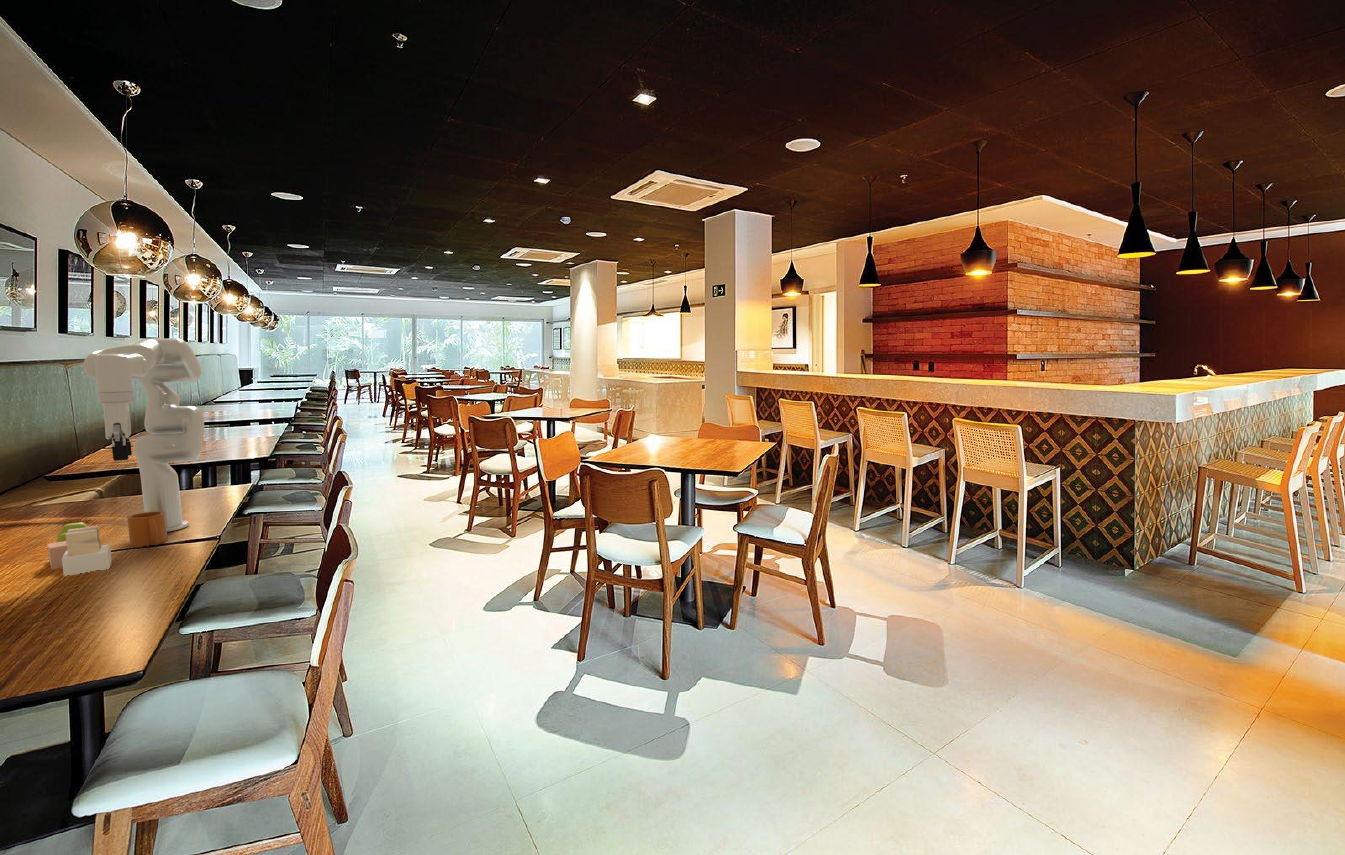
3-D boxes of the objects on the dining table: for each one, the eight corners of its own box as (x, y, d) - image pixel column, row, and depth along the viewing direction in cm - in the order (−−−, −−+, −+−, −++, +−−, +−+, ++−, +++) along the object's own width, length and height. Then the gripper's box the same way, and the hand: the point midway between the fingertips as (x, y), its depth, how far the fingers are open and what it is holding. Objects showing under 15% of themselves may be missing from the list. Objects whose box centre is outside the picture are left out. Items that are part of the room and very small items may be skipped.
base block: (68, 568, 174) (66, 550, 173) (111, 561, 179) (109, 544, 179) (63, 577, 167) (61, 558, 166) (109, 570, 172) (107, 552, 172)
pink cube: (50, 565, 176) (47, 544, 176) (79, 559, 181) (76, 539, 180) (52, 569, 172) (49, 548, 172) (82, 564, 177) (79, 543, 176)
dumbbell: (91, 555, 185) (88, 531, 184) (53, 561, 180) (50, 536, 179) (95, 542, 197) (92, 519, 197) (59, 547, 192) (56, 524, 191)
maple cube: (71, 550, 173) (68, 529, 172) (101, 546, 177) (98, 525, 176) (68, 556, 168) (65, 534, 168) (98, 552, 172) (95, 530, 171)
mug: (130, 552, 187) (126, 522, 186) (130, 543, 196) (126, 514, 195) (169, 545, 193) (165, 516, 192) (167, 537, 202) (163, 509, 201)
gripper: (102, 397, 185) (109, 455, 187) (94, 400, 171) (101, 463, 173) (136, 395, 189) (142, 452, 191) (130, 399, 175) (137, 460, 178)
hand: (122, 457), depth 182 cm, fingers open, 9 cm apart
